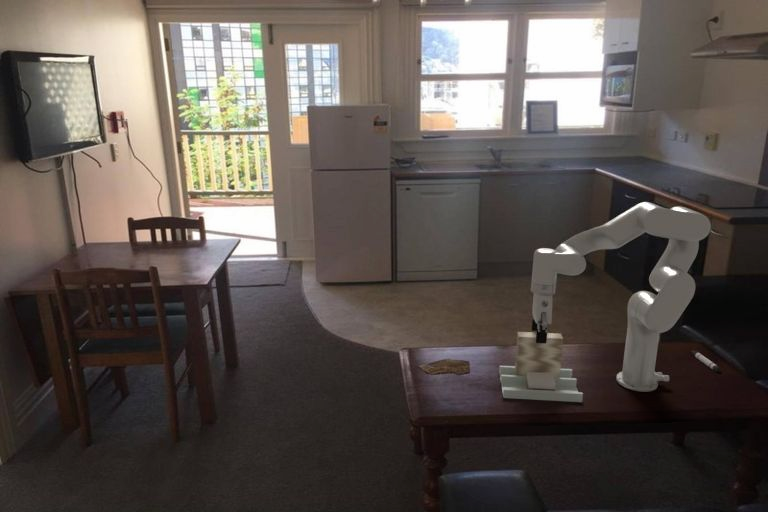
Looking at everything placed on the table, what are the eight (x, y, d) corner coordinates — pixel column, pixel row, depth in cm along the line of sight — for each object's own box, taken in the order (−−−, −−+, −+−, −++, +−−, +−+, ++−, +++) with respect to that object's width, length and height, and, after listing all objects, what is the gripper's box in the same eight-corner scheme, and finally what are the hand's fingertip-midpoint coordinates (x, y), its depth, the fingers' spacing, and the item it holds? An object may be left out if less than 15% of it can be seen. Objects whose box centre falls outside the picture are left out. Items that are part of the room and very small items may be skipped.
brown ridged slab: (419, 375, 190) (419, 373, 190) (417, 361, 201) (417, 358, 201) (494, 374, 191) (494, 372, 191) (487, 360, 201) (487, 357, 201)
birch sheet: (557, 377, 186) (560, 333, 181) (559, 383, 182) (563, 338, 178) (514, 375, 187) (517, 331, 183) (515, 381, 184) (518, 336, 179)
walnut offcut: (551, 387, 180) (551, 380, 179) (554, 396, 174) (555, 389, 173) (526, 385, 181) (526, 378, 180) (528, 395, 175) (529, 388, 174)
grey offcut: (551, 380, 179) (552, 373, 178) (555, 389, 173) (555, 382, 173) (526, 378, 180) (527, 371, 179) (529, 388, 174) (529, 380, 174)
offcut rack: (570, 377, 188) (571, 368, 187) (582, 404, 171) (583, 394, 170) (498, 374, 190) (499, 364, 189) (503, 400, 174) (503, 390, 173)
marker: (720, 372, 191) (721, 367, 191) (714, 372, 191) (715, 367, 191) (693, 352, 206) (694, 348, 205) (688, 353, 206) (688, 348, 205)
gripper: (560, 297, 167) (555, 348, 172) (550, 279, 184) (546, 326, 188) (535, 295, 168) (530, 347, 173) (527, 278, 184) (523, 325, 189)
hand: (538, 336), depth 180 cm, fingers open, 9 cm apart
